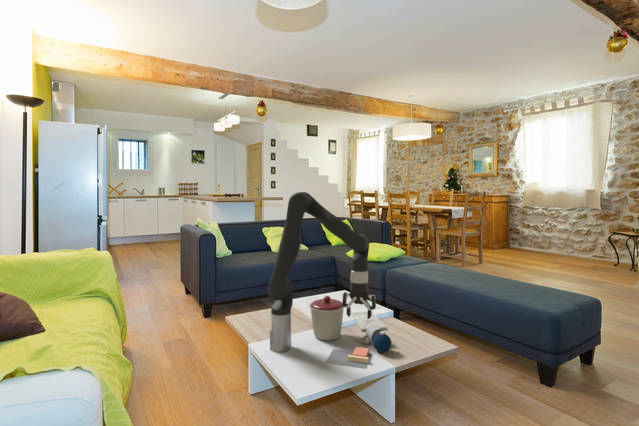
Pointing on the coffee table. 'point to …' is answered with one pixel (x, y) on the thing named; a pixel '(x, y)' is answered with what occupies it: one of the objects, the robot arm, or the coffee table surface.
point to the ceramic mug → (371, 334)
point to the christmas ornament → (382, 342)
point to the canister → (327, 318)
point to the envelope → (367, 321)
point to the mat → (347, 359)
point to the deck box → (361, 352)
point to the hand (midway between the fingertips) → (358, 317)
